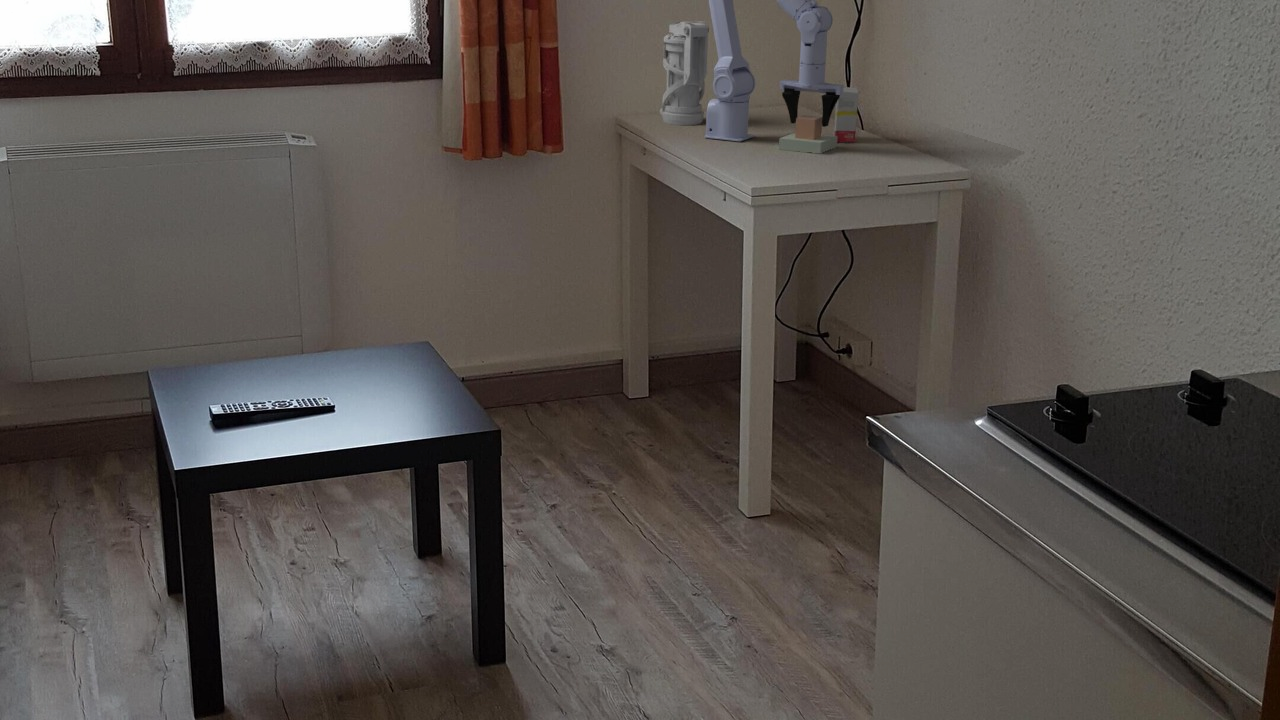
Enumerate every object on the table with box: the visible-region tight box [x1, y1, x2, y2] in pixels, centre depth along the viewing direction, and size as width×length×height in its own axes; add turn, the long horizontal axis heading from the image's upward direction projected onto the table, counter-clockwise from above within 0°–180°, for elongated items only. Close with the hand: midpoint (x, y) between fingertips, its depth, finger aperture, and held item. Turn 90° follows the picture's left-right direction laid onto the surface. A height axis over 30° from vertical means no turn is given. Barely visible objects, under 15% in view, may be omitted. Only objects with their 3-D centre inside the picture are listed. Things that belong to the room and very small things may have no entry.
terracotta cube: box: [794, 115, 823, 140], centre depth 306 cm, size 4×4×4 cm
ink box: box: [833, 86, 859, 144], centre depth 317 cm, size 9×5×12 cm, turn 173°
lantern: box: [659, 20, 710, 126], centre depth 335 cm, size 13×10×25 cm
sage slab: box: [778, 132, 838, 154], centre depth 308 cm, size 10×10×2 cm
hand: (809, 124), depth 306 cm, fingers open, 7 cm apart
